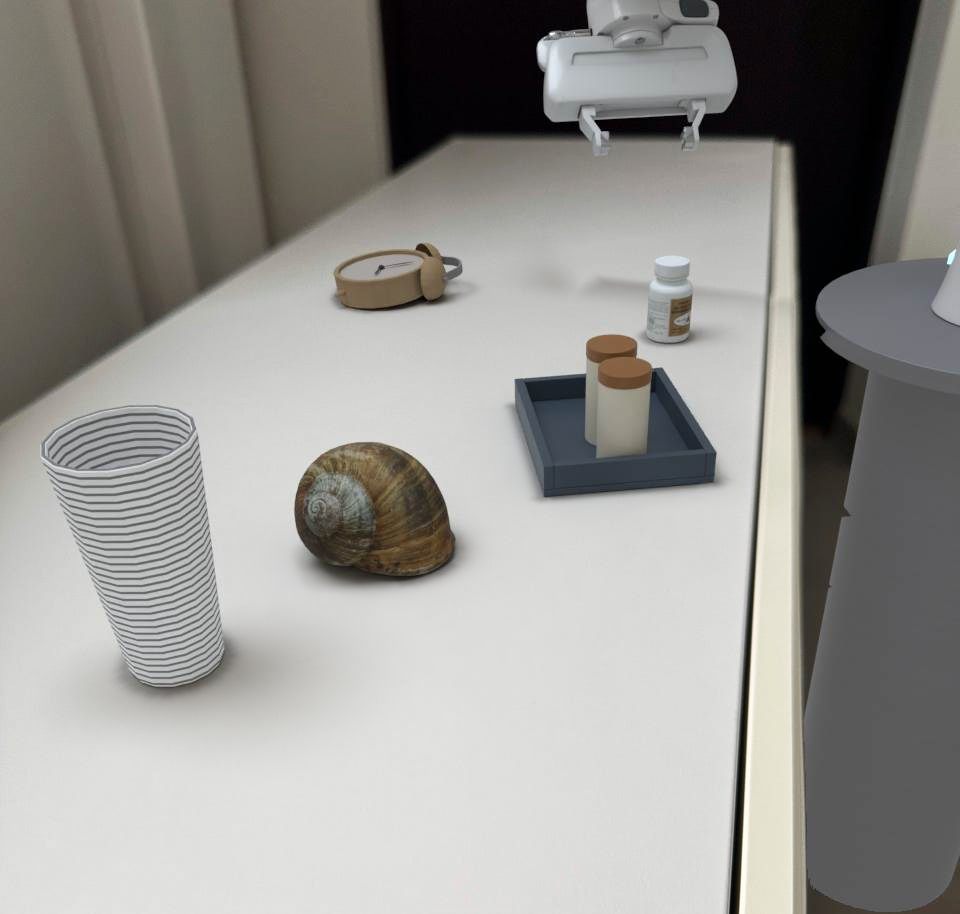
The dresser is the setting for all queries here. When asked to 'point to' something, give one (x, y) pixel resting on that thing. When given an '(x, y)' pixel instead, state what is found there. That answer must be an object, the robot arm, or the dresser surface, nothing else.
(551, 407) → the tray
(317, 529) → the seashell
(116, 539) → the cup
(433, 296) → the alarm clock
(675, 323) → the pill bottle
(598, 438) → the matching bottles
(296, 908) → the dresser surface
